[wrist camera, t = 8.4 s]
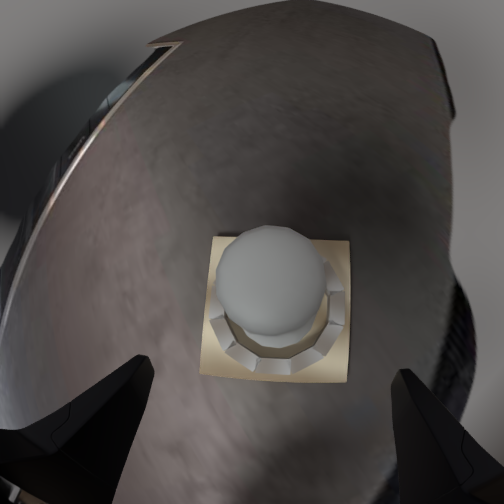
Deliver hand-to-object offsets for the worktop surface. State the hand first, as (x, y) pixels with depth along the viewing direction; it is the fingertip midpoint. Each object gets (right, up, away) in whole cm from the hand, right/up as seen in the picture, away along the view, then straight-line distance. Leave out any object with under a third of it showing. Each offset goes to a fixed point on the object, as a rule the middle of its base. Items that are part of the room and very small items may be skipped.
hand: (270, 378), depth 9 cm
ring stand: (+2, 0, +14) cm, 14 cm away
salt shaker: (+1, -1, +13) cm, 13 cm away
